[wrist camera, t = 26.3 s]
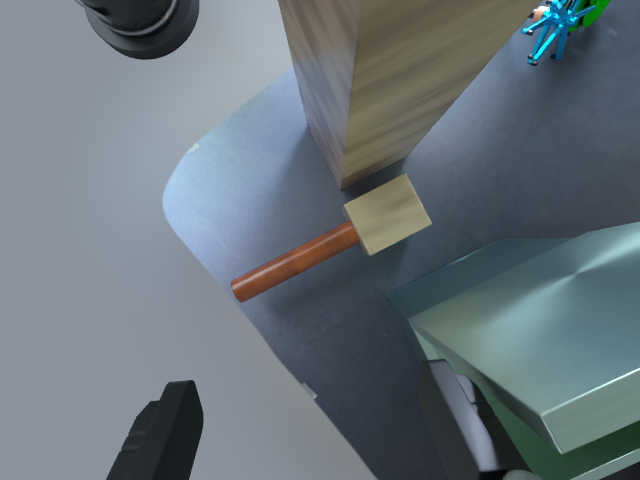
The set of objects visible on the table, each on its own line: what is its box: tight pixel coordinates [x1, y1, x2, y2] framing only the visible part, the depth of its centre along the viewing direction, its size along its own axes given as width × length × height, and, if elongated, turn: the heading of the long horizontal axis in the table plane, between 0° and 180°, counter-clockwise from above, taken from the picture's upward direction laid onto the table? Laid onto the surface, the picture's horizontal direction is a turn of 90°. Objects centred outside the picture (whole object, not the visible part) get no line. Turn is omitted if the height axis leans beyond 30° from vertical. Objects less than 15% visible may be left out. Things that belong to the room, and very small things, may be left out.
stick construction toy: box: [522, 0, 610, 66], centre depth 33 cm, size 12×7×8 cm
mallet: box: [231, 173, 432, 303], centre depth 32 cm, size 7×19×5 cm
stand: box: [278, 0, 542, 190], centre depth 19 cm, size 10×12×33 cm
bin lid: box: [408, 222, 640, 454], centre depth 15 cm, size 17×14×1 cm
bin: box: [385, 238, 640, 480], centre depth 29 cm, size 16×14×12 cm
